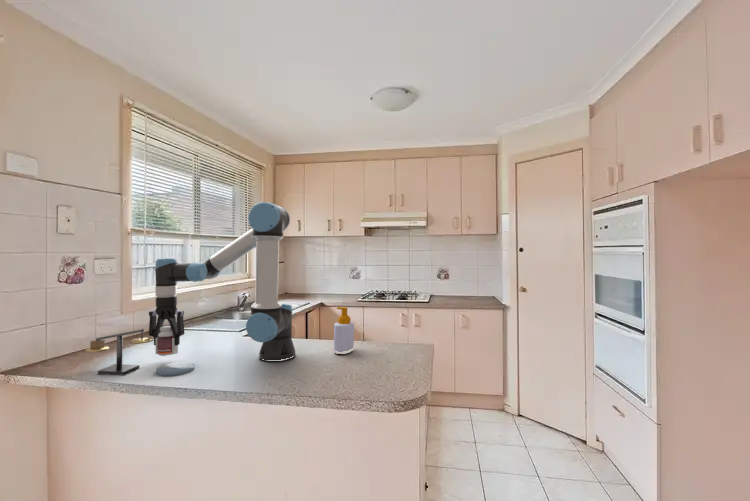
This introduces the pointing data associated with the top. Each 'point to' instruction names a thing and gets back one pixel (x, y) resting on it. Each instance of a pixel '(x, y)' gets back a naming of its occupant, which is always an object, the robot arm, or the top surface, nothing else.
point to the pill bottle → (165, 341)
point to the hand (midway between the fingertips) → (166, 353)
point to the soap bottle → (343, 332)
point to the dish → (174, 369)
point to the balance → (118, 367)
